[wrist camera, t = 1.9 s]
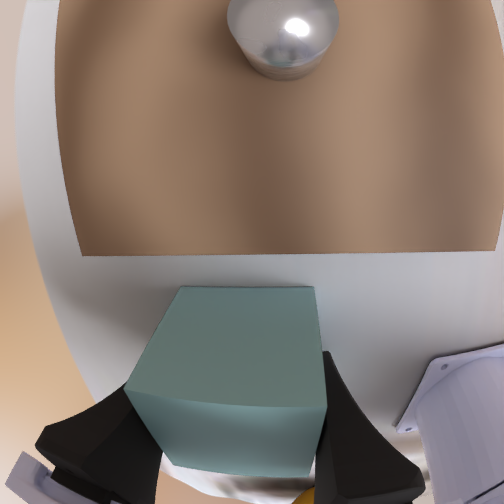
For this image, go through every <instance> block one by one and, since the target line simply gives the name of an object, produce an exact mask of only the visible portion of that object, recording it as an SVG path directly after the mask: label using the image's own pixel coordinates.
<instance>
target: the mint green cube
mask: <svg viewBox="0 0 504 504" xmlns="http://www.w3.org/2000/svg"><path fill="white" fill-rule="evenodd" d="M124 391H125V393H126V394H127V396H128V398H129V400H130V401H131V403H132V405H133V406H134V408H135V410H136V411H137V413H138V414H139V416H140V418H141V419H142V421H143V422H144V424H145V425H146V427H147V429H148V430H149V432H150V433H151V435H152V436H153V438H154V439H155V440H156V442H157V443H158V445H159V446H160V448H161V449H162V450H163V452H164V453H165V455H166V456H167V457H168V459H169V460H170V461H171V463H172V464H173V465H176V466H180V467H186V468H191V469H197V470H203V471H209V472H217V473H225V474H234V475H245V476H259V477H309V473H310V470H311V467H312V463H313V460H314V456H315V453H316V449H317V446H318V442H319V438H320V434H321V430H322V426H323V422H324V418H325V414H326V410H327V397H326V385H325V375H324V364H323V355H322V346H321V337H320V329H319V320H318V313H317V305H316V298H315V290H314V287H187V286H181V287H180V289H179V291H178V292H177V294H176V296H175V297H174V299H173V301H172V303H171V304H170V306H169V308H168V309H167V311H166V313H165V315H164V316H163V318H162V320H161V322H160V323H159V325H158V327H157V329H156V330H155V332H154V334H153V336H152V337H151V339H150V341H149V343H148V344H147V346H146V348H145V350H144V352H143V353H142V355H141V357H140V359H139V361H138V363H137V364H136V366H135V368H134V370H133V372H132V374H131V375H130V377H129V379H128V381H127V383H126V385H125V387H124Z"/></svg>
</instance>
